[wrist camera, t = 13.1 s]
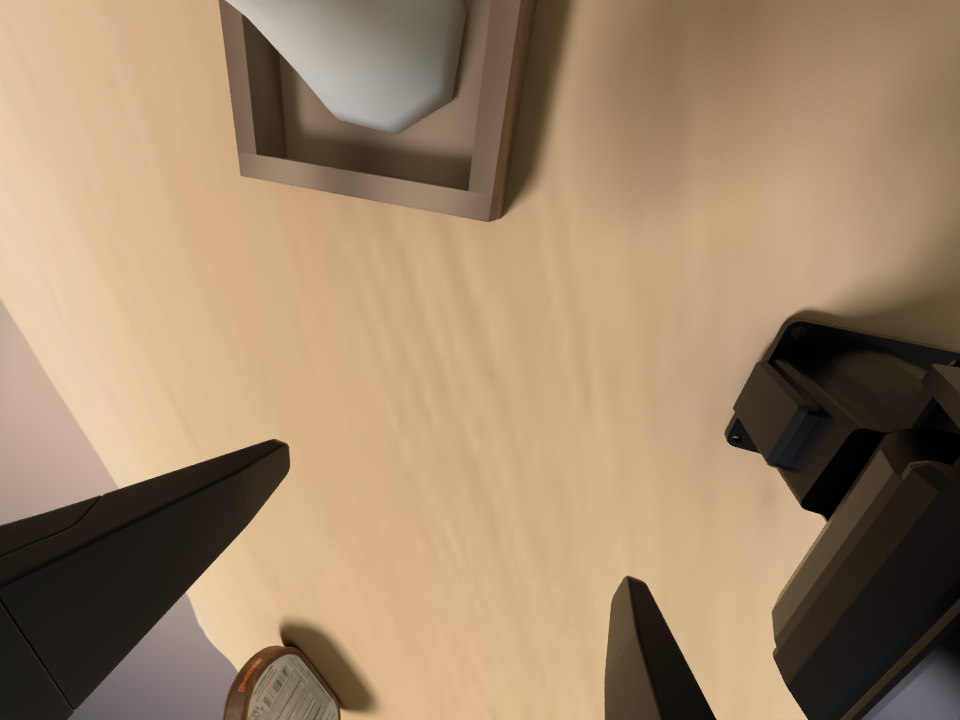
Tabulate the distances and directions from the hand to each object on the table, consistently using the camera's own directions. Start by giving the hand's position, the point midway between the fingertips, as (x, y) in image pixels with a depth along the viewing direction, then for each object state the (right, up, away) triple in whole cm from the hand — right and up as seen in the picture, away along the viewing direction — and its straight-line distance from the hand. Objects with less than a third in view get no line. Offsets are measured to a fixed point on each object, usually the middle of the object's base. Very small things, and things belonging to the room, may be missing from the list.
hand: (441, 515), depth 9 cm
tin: (-18, -31, +33) cm, 49 cm away
